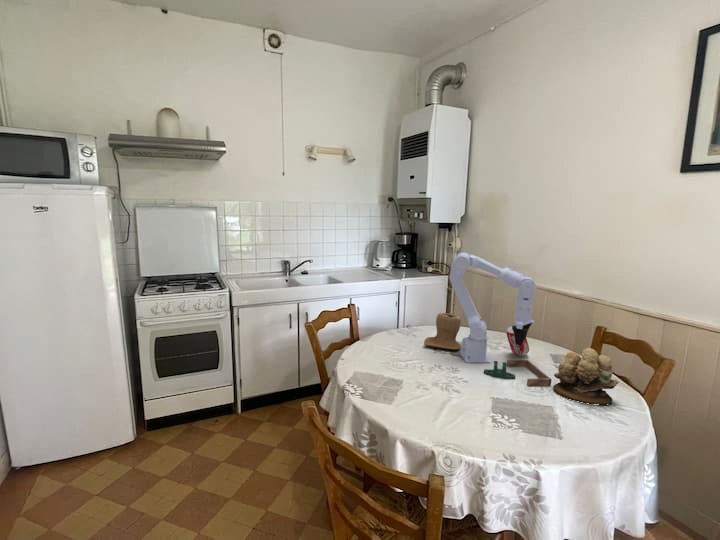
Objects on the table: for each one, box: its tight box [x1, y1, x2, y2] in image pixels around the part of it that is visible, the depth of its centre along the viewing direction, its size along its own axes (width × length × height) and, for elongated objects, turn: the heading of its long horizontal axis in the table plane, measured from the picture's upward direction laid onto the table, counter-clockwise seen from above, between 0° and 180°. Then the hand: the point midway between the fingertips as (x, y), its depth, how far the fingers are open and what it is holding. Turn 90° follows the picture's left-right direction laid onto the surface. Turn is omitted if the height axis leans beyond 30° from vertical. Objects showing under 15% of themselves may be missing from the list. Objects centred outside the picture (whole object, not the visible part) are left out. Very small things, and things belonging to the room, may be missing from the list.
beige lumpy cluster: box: [552, 347, 620, 406], centre depth 120 cm, size 18×12×17 cm, turn 65°
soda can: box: [506, 324, 530, 357], centre depth 153 cm, size 7×7×12 cm
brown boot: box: [423, 312, 462, 351], centre depth 162 cm, size 15×12×15 cm
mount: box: [483, 360, 516, 380], centre depth 135 cm, size 11×4×5 cm, turn 69°
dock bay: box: [506, 359, 552, 387], centre depth 135 cm, size 8×17×2 cm, turn 3°
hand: (520, 341), depth 143 cm, fingers open, 7 cm apart
